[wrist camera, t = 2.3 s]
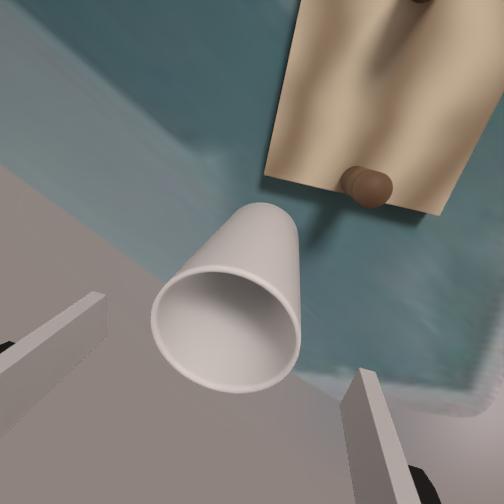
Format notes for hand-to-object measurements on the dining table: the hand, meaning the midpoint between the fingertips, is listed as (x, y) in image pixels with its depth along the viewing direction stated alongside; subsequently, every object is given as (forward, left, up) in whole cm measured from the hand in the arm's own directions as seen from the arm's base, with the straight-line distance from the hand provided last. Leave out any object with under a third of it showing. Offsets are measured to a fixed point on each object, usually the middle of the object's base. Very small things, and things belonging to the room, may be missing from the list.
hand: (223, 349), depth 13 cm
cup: (0, 0, -17) cm, 17 cm away
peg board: (+7, +15, -17) cm, 23 cm away
